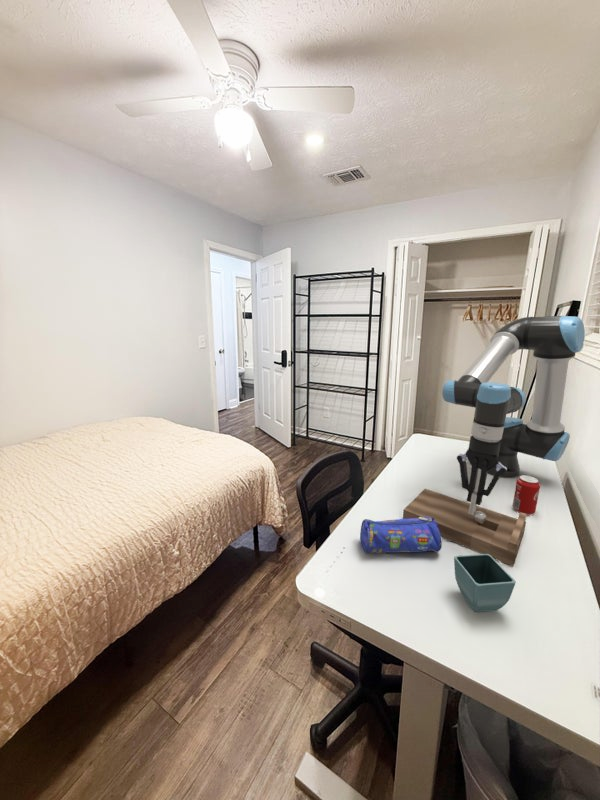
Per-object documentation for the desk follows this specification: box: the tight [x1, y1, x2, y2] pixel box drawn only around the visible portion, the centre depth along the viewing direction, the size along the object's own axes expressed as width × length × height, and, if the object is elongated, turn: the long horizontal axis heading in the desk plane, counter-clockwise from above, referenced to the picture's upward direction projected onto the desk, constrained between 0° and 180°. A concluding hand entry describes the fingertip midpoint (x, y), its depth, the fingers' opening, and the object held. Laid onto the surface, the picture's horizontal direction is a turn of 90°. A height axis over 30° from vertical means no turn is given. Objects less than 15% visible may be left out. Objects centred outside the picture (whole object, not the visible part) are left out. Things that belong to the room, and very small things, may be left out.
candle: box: [466, 449, 481, 491], centre depth 120 cm, size 7×7×15 cm
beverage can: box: [512, 475, 541, 517], centre depth 105 cm, size 6×6×12 cm
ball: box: [473, 511, 487, 523], centre depth 94 cm, size 4×4×4 cm
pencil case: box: [359, 517, 443, 554], centre depth 88 cm, size 22×9×10 cm, turn 93°
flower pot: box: [453, 553, 517, 613], centre depth 71 cm, size 9×9×9 cm
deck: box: [402, 488, 527, 567], centre depth 98 cm, size 18×30×6 cm, turn 48°
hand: (472, 512), depth 95 cm, fingers closed
